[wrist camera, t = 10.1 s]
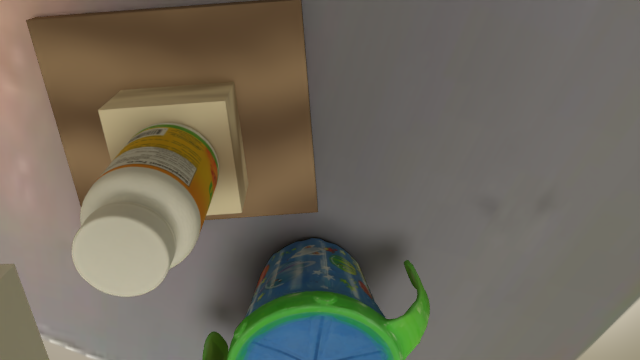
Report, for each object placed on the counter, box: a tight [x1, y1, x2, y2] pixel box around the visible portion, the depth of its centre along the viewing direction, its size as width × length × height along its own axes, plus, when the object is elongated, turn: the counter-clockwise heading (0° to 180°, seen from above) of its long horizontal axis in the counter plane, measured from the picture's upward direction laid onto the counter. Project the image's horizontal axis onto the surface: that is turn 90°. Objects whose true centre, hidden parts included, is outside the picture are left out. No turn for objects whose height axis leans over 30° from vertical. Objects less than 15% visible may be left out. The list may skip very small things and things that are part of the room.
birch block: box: [98, 82, 248, 215], centre depth 33 cm, size 7×7×4 cm
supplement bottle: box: [72, 123, 219, 297], centre depth 26 cm, size 5×5×10 cm
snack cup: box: [203, 238, 430, 360], centre depth 36 cm, size 16×10×10 cm
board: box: [26, 0, 318, 220], centre depth 34 cm, size 14×16×1 cm
